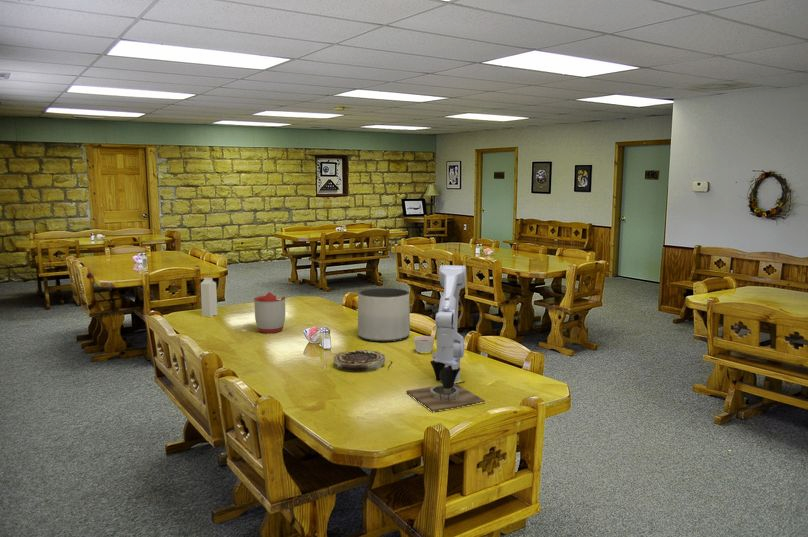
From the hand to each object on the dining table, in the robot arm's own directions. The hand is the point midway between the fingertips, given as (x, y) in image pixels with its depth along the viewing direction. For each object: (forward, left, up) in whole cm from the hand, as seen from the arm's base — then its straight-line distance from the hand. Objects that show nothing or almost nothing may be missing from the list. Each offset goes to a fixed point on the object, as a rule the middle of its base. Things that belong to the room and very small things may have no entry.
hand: (444, 383), depth 206 cm
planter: (-87, +15, -6) cm, 88 cm away
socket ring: (0, 0, -5) cm, 5 cm away
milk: (-170, -56, -5) cm, 179 cm away
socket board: (0, 0, -5) cm, 5 cm away
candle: (-54, +20, -6) cm, 58 cm away
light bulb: (0, +1, -4) cm, 5 cm away
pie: (-49, -13, -6) cm, 51 cm away
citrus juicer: (-122, -32, -5) cm, 126 cm away
